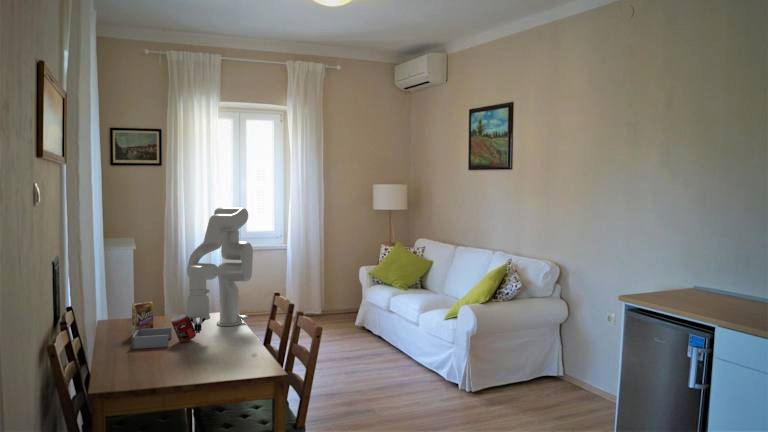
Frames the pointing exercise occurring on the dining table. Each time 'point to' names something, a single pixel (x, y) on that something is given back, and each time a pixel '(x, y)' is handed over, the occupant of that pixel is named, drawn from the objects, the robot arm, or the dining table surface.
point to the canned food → (183, 327)
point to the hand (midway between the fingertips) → (197, 332)
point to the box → (151, 338)
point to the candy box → (142, 316)
